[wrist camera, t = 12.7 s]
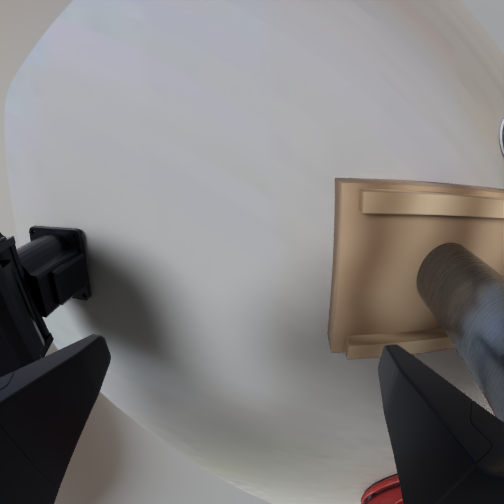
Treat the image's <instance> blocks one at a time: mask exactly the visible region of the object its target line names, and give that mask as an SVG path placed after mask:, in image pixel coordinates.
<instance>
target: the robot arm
mask: <svg viewBox="0 0 504 504" xmlns="http://www.w3.org/2000/svg"><path fill="white" fill-rule="evenodd" d="M29 233H30V239H31V242H29V243H27V244H25V245H24V246H22V247H20V248H18V249H16V246H15V239H14V236H12V237H8V238H6V237H5V236H3V235H2V234H1V233H0V504H54V502H55V499H56V496H57V494H58V491H59V488H60V485H61V482H62V480H63V477H64V475H65V472H66V469H67V467H68V464H69V462H70V459H71V457H72V454H73V452H74V450H75V447H76V445H77V442H78V440H79V438H80V435H81V433H82V431H83V428H84V426H85V423H86V422H87V419H88V417H89V415H90V412H91V410H92V408H93V406H94V404H95V402H96V399H97V397H98V395H99V392H100V389H101V386H102V383H103V380H104V378H105V375H106V372H107V369H108V366H109V364H110V360H111V355H110V352H109V349H108V346H107V343H106V341H105V338H104V337H103V336H101V335H94V334H93V335H90V336H88V337H86V338H84V339H82V340H80V341H77V342H75V343H73V344H71V345H69V346H67V347H65V348H63V349H60V350H58V351H56V352H54V353H52V354H50V355H48V356H46V357H45V354H46V352H47V351H48V349H49V347H50V345H51V343H52V341H53V337H52V335H51V333H49V331H48V329H47V326H46V324H45V322H44V320H43V318H42V317H47V316H48V315H50V314H51V313H52V312H53V311H54V310H55V309H56V308H58V307H59V306H60V305H63V304H64V303H66V302H67V301H68V300H69V299H70V298H71V297H72V298H77V299H81V300H88V299H89V298H90V297H91V291H90V286H89V280H88V275H87V268H86V262H85V255H84V248H83V240H82V234H81V231H80V230H79V229H72V228H58V227H43V226H33V227H31V228H30V230H29ZM75 234H76V235H77V237H76V235H75ZM85 294H86V295H87V296H86V295H85ZM378 372H379V379H380V386H381V393H382V401H383V409H384V415H385V419H386V424H387V428H388V432H389V436H390V440H391V445H392V449H393V454H394V458H395V463H396V468H397V473H398V478H399V483H400V488H401V494H402V500H403V504H504V422H503V421H502V420H500V419H499V418H497V417H495V416H494V415H492V414H491V413H490V412H488V411H487V410H485V409H484V408H483V407H481V406H480V405H479V404H477V403H476V402H475V401H472V399H470V398H469V397H468V396H466V395H465V394H464V393H462V392H461V391H460V390H458V389H457V388H456V387H454V386H453V385H452V384H450V383H449V382H448V381H446V380H445V379H444V378H442V377H441V376H440V375H438V374H437V373H436V372H434V371H433V370H432V369H430V368H429V367H428V366H426V365H425V364H423V363H422V362H421V361H419V360H418V359H417V358H415V357H414V356H413V355H411V354H410V353H409V352H407V351H406V350H405V349H403V348H402V347H400V346H399V345H397V344H390V345H385V346H384V347H383V350H382V354H381V358H380V362H379V367H378Z"/></svg>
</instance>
